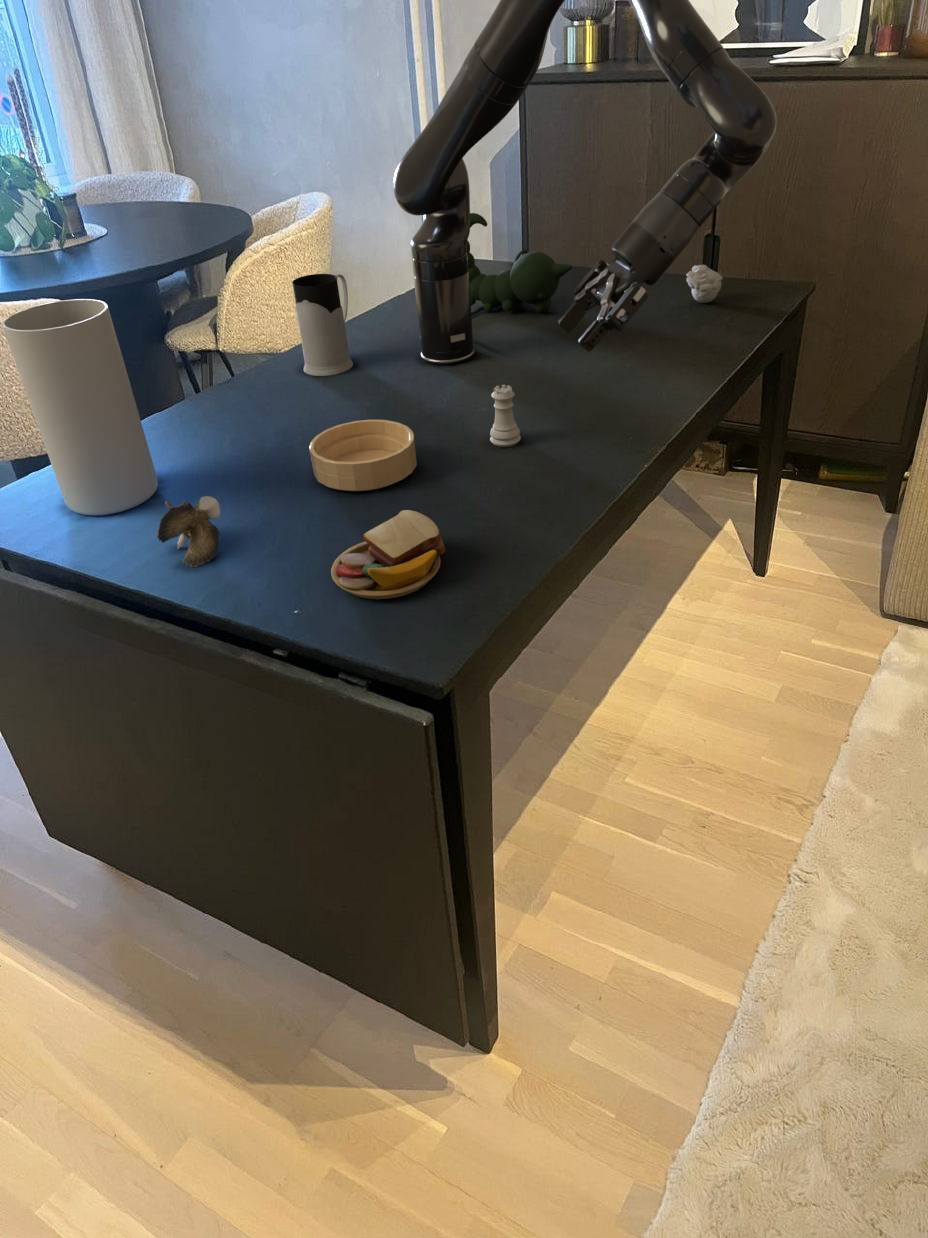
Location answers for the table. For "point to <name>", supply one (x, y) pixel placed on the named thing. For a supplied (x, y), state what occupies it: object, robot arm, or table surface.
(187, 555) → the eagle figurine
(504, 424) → the rook chess piece
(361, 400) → the table surface
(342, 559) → the toy sandwich meal
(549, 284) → the toy figurine
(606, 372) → the table surface
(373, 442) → the bowl
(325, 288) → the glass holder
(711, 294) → the white lumpy rounded piece
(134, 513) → the table surface
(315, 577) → the table surface
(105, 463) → the cylinder vase
